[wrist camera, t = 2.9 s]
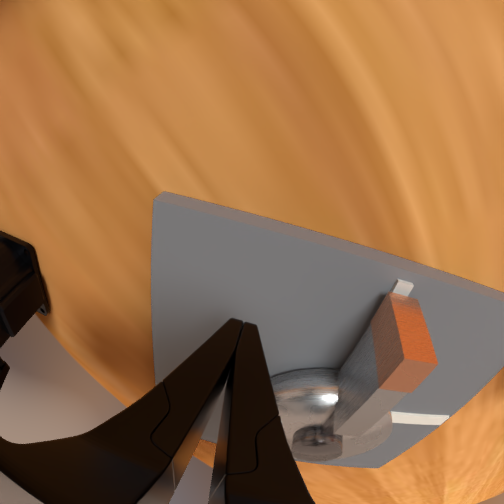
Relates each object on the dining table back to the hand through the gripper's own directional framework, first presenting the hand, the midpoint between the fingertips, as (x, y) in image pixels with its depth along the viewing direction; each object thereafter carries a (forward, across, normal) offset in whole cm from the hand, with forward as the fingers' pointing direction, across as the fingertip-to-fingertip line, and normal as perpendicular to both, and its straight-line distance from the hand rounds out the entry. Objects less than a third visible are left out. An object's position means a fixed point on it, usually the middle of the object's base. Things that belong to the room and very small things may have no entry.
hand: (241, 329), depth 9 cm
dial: (+4, -6, +7) cm, 10 cm away
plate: (+5, -6, +9) cm, 12 cm away
